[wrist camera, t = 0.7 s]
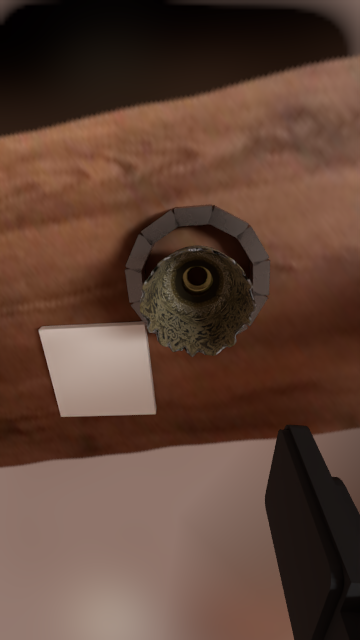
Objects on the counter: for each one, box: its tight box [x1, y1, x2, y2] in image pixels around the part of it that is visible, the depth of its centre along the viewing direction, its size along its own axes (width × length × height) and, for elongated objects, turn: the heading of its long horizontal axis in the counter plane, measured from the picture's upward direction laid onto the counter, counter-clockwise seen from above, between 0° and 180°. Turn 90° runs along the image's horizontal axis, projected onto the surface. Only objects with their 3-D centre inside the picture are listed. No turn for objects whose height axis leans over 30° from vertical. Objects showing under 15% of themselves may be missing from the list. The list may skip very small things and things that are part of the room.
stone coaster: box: [39, 321, 157, 417], centre depth 32 cm, size 10×10×1 cm
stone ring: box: [125, 205, 270, 335], centre depth 27 cm, size 12×12×2 cm
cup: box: [140, 246, 256, 357], centre depth 24 cm, size 8×7×8 cm
